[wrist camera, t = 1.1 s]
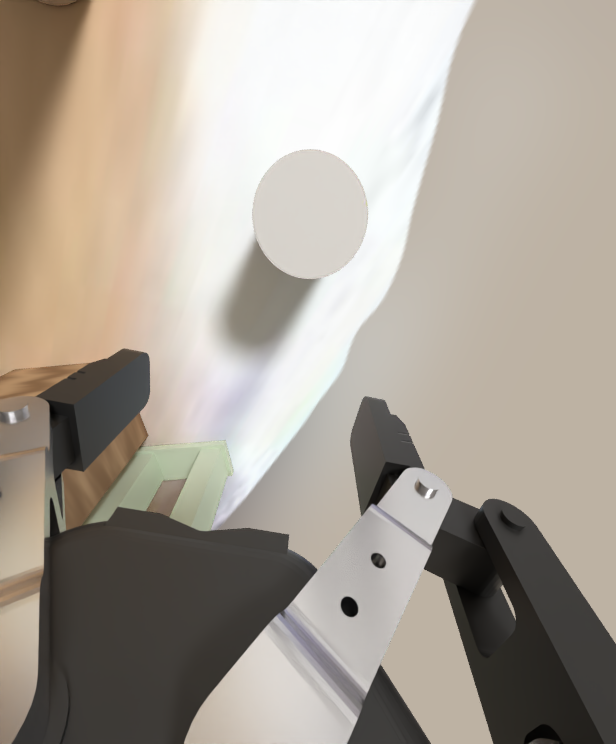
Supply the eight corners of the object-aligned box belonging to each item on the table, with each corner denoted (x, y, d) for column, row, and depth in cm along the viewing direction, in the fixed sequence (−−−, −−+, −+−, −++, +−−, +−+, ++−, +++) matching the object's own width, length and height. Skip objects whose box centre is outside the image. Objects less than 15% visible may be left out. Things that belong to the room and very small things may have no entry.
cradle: (146, 477, 48) (30, 661, 28) (133, 447, 46) (-6, 626, 25) (233, 470, 48) (179, 653, 28) (225, 440, 45) (159, 617, 25)
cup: (324, 274, 35) (332, 297, 24) (258, 238, 33) (235, 246, 22) (361, 201, 32) (390, 190, 21) (291, 157, 30) (282, 121, 19)
